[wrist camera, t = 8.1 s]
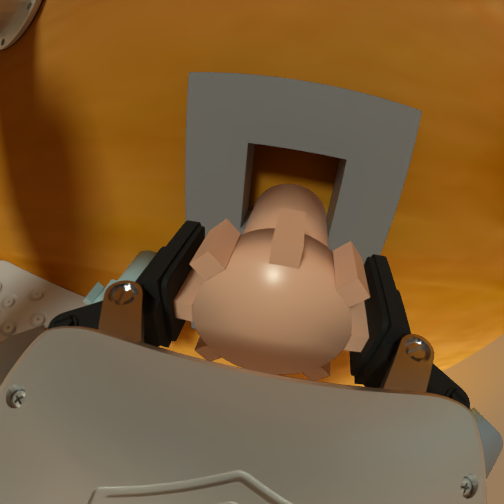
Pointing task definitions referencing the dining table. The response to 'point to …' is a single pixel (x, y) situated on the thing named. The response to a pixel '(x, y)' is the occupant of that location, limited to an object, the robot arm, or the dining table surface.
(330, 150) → the housing
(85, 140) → the dining table surface
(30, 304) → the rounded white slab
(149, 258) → the jaw gear
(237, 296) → the jaw gear
